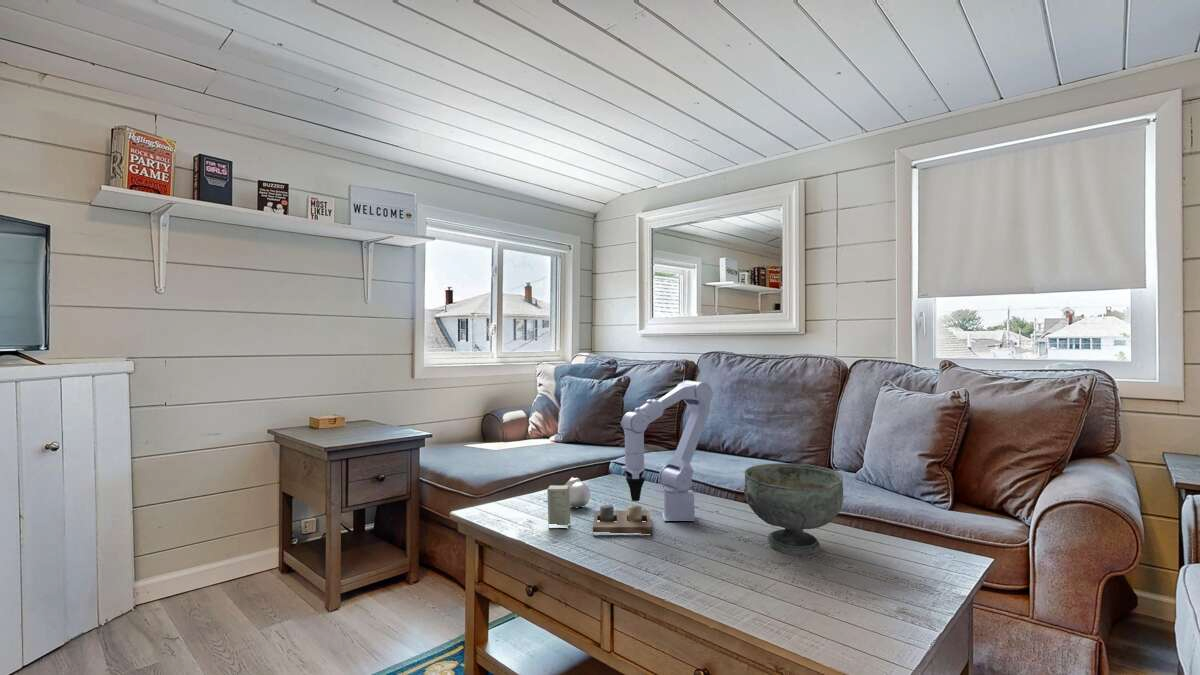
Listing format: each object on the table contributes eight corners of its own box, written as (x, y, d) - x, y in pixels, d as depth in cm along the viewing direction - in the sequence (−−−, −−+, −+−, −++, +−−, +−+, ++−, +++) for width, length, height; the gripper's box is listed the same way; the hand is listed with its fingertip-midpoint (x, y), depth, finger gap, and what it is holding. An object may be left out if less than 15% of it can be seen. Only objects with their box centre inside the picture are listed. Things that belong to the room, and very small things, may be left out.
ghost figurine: (578, 502, 199) (578, 473, 199) (595, 508, 192) (595, 478, 192) (557, 507, 193) (557, 477, 193) (574, 513, 186) (574, 482, 186)
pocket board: (648, 518, 180) (648, 499, 180) (652, 535, 164) (651, 514, 164) (594, 518, 180) (594, 499, 180) (592, 535, 164) (592, 515, 164)
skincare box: (570, 524, 174) (570, 485, 174) (568, 529, 170) (567, 488, 170) (550, 524, 175) (549, 484, 175) (547, 529, 171) (547, 488, 171)
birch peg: (641, 524, 174) (641, 504, 174) (642, 528, 170) (641, 508, 170) (628, 524, 174) (628, 504, 174) (628, 529, 170) (628, 508, 170)
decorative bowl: (856, 569, 138) (855, 486, 139) (747, 562, 144) (746, 482, 144) (834, 533, 164) (833, 463, 165) (742, 528, 170) (741, 460, 170)
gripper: (620, 447, 179) (621, 490, 179) (621, 457, 165) (622, 504, 165) (643, 447, 179) (643, 490, 179) (646, 456, 165) (646, 504, 165)
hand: (635, 497), depth 172 cm, fingers open, 7 cm apart
